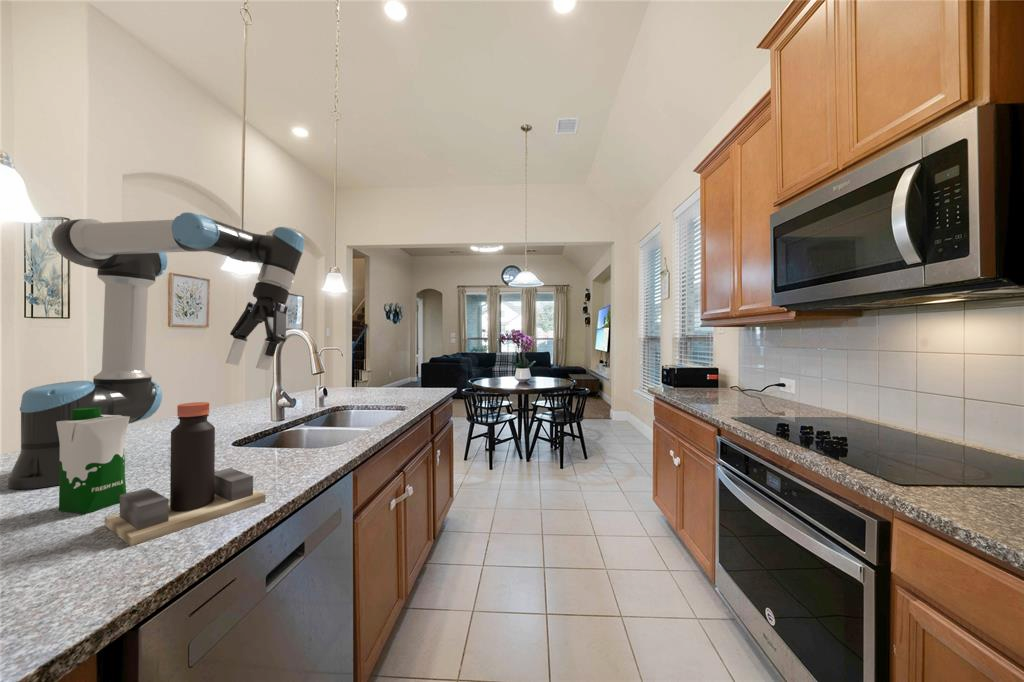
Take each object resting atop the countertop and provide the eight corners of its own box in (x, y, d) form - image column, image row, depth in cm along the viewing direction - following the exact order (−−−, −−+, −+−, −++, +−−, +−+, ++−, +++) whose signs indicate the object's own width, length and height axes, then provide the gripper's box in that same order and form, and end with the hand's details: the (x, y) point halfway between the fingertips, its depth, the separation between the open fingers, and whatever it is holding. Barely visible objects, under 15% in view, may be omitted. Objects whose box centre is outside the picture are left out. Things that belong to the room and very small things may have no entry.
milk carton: (103, 495, 85) (104, 404, 85) (135, 498, 83) (136, 406, 83) (48, 512, 76) (49, 411, 76) (83, 516, 75) (84, 413, 75)
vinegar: (160, 512, 73) (161, 406, 73) (189, 497, 80) (190, 401, 80) (196, 512, 73) (197, 406, 74) (222, 497, 80) (223, 401, 80)
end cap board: (104, 525, 71) (104, 495, 71) (233, 488, 89) (233, 464, 89) (130, 546, 64) (130, 513, 64) (265, 501, 82) (265, 475, 82)
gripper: (317, 291, 97) (291, 374, 92) (260, 292, 109) (235, 365, 104) (288, 279, 90) (260, 367, 86) (232, 281, 102) (204, 359, 98)
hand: (246, 366), depth 95 cm, fingers open, 13 cm apart
